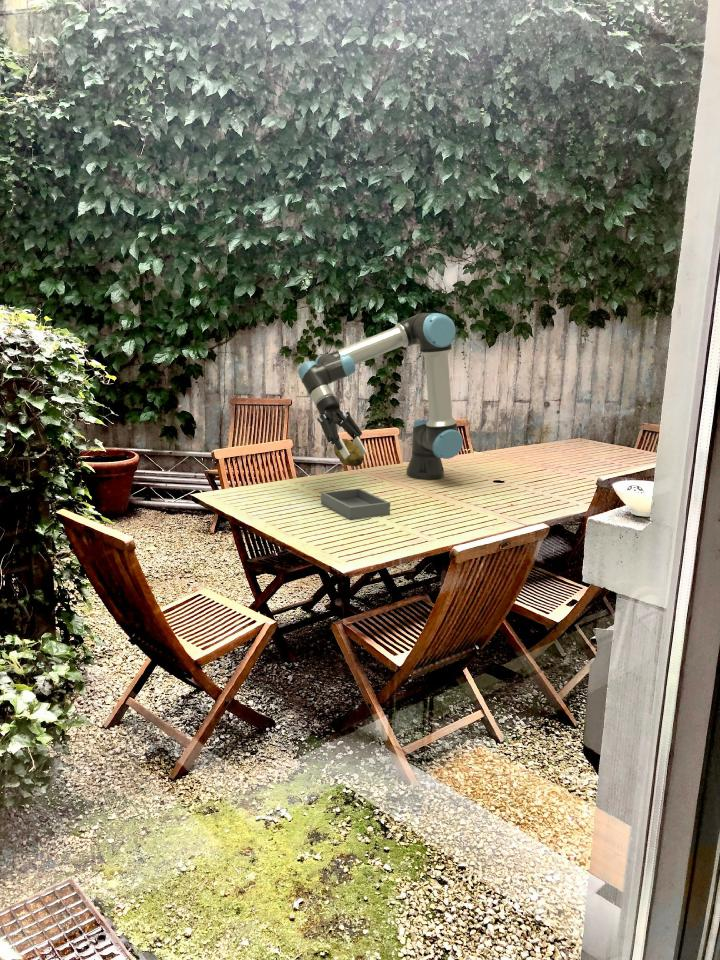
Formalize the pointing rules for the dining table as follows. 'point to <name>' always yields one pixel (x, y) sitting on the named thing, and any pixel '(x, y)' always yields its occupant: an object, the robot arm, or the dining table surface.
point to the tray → (355, 503)
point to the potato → (355, 454)
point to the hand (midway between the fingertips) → (355, 455)
